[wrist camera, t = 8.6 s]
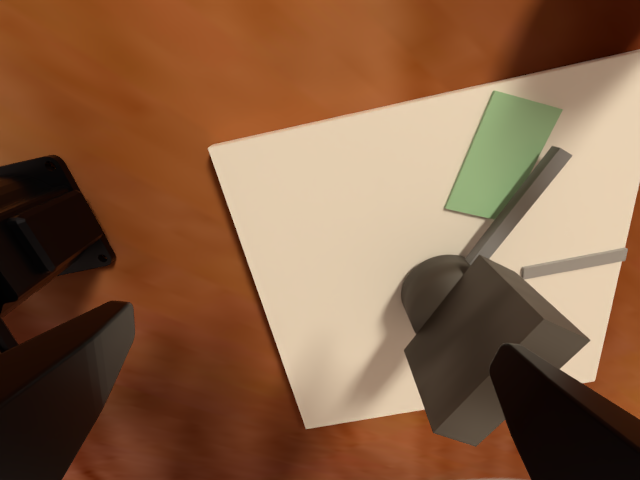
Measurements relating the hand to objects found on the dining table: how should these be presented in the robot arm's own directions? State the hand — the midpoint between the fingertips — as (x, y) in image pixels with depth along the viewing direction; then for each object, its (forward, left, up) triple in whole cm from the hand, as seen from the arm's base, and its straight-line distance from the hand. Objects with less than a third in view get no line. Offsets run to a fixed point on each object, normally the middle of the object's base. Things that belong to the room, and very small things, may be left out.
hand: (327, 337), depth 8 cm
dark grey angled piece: (+8, -5, -10) cm, 14 cm away
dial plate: (+6, -7, -12) cm, 15 cm away
